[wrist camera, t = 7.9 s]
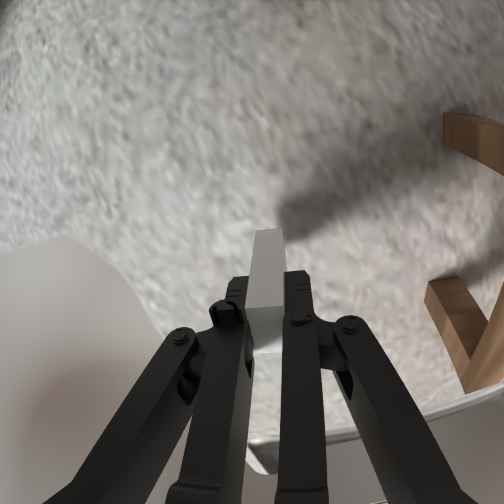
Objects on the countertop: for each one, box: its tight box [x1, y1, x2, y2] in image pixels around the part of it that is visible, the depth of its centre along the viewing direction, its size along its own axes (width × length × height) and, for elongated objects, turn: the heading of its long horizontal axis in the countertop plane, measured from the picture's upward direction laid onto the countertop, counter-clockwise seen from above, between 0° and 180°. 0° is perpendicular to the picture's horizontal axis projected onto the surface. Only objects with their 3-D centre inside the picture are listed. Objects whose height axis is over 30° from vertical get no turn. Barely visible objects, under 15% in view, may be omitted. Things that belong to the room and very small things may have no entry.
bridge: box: [424, 113, 504, 394], centre depth 13 cm, size 3×14×9 cm, turn 9°
